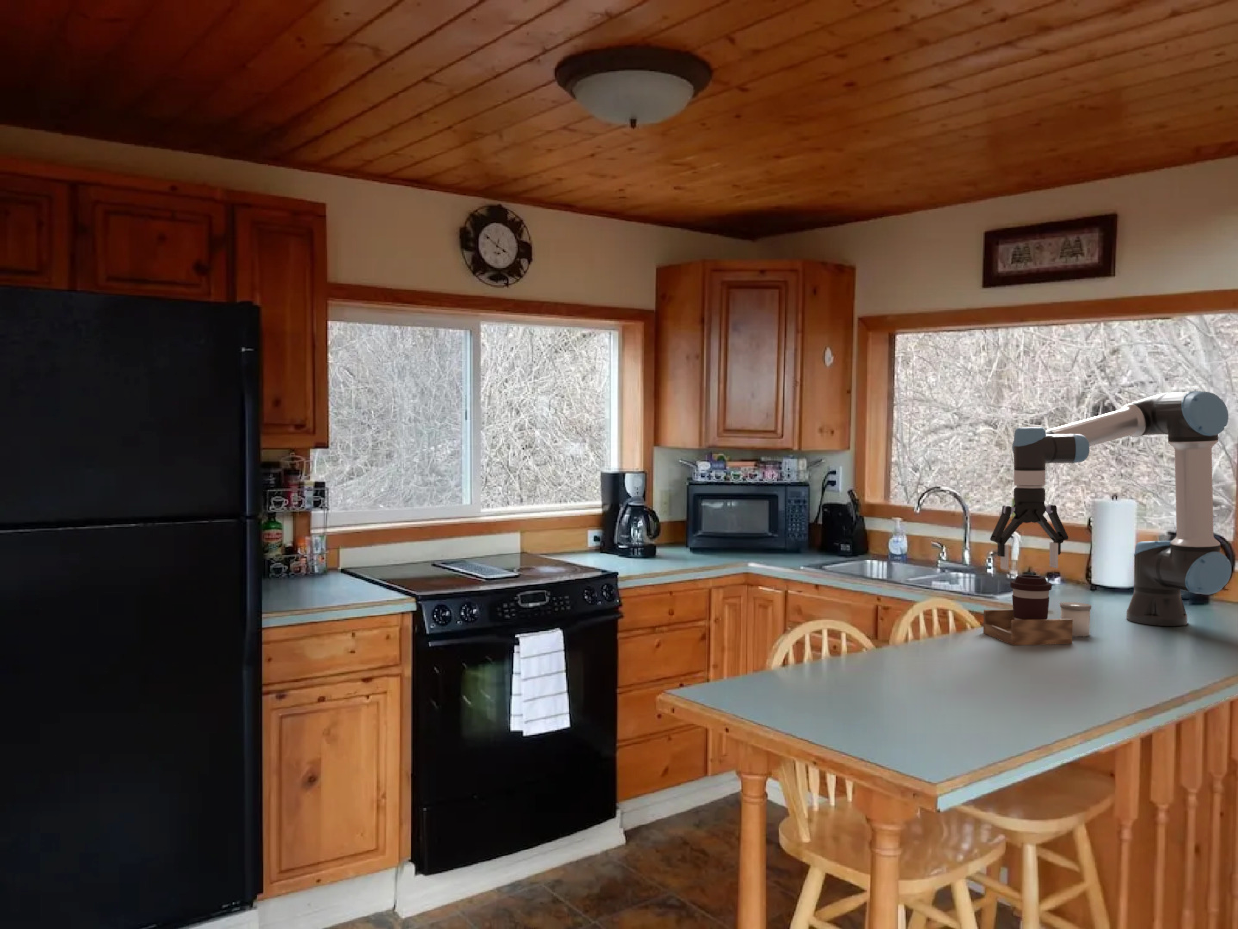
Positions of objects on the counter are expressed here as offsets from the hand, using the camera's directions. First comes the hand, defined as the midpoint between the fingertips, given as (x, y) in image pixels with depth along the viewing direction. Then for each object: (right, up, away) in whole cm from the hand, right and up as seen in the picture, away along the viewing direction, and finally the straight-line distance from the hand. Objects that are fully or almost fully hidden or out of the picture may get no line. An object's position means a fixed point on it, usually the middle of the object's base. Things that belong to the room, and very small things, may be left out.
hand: (1029, 568), depth 252 cm
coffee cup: (0, -17, 0) cm, 17 cm away
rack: (0, -18, +1) cm, 18 cm away
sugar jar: (+15, -18, +7) cm, 24 cm away
